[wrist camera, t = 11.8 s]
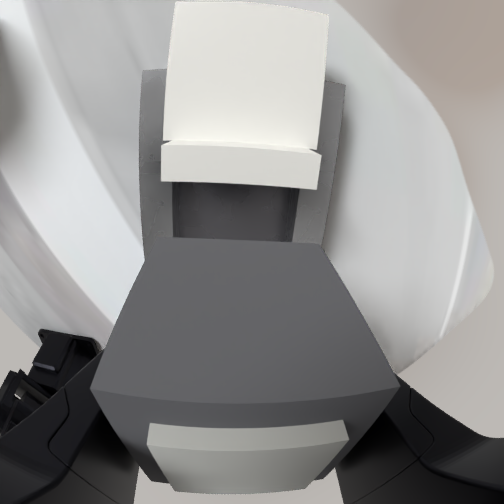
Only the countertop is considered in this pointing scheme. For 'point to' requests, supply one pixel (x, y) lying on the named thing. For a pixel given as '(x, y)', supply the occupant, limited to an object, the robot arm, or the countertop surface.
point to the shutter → (244, 94)
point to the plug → (240, 367)
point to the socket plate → (231, 186)
